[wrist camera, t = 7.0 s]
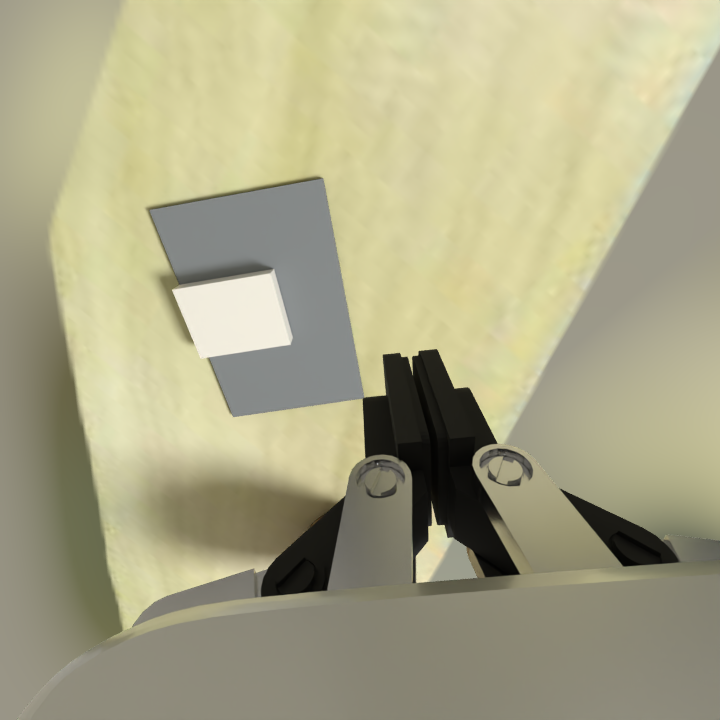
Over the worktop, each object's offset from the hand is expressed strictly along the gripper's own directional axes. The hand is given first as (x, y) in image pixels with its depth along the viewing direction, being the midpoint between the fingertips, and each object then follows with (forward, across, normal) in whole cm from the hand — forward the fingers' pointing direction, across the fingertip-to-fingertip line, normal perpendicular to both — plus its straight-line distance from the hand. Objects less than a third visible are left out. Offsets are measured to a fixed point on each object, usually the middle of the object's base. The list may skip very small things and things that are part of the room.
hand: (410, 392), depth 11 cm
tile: (+22, +9, +5) cm, 25 cm away
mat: (+24, +10, +6) cm, 27 cm away
